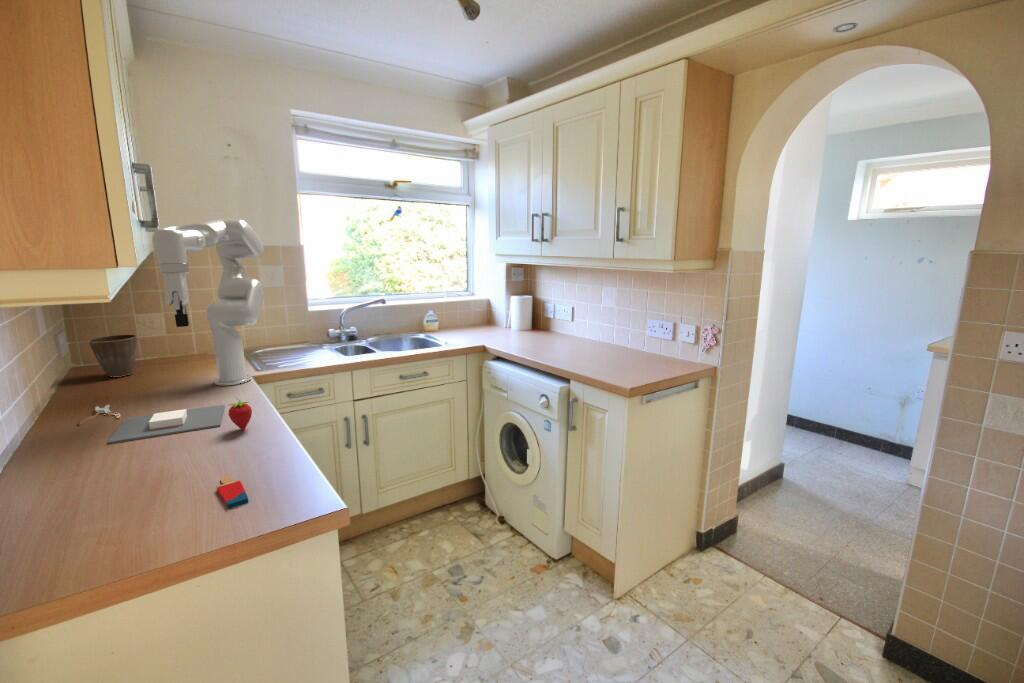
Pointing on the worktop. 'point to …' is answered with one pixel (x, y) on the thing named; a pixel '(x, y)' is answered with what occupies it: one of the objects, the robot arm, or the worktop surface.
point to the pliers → (105, 410)
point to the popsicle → (232, 492)
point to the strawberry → (240, 414)
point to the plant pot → (115, 353)
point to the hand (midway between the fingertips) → (182, 326)
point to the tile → (168, 419)
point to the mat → (194, 421)
